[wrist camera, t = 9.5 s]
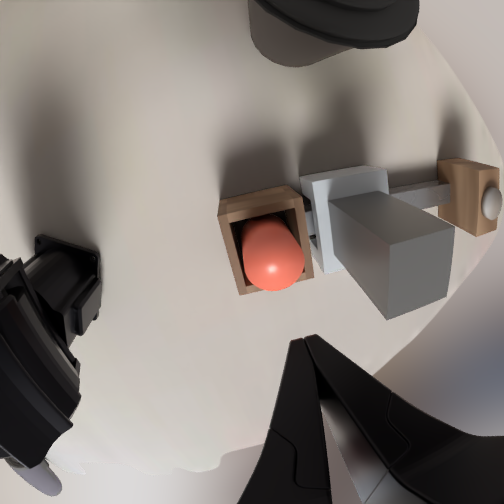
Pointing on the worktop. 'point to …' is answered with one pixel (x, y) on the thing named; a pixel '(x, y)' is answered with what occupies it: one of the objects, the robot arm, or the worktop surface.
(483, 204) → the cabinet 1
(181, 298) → the worktop surface
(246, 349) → the worktop surface
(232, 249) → the cabinet
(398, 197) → the handrail
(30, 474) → the bluetooth speaker
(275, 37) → the coffee cup
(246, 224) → the gauge button
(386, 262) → the plate
